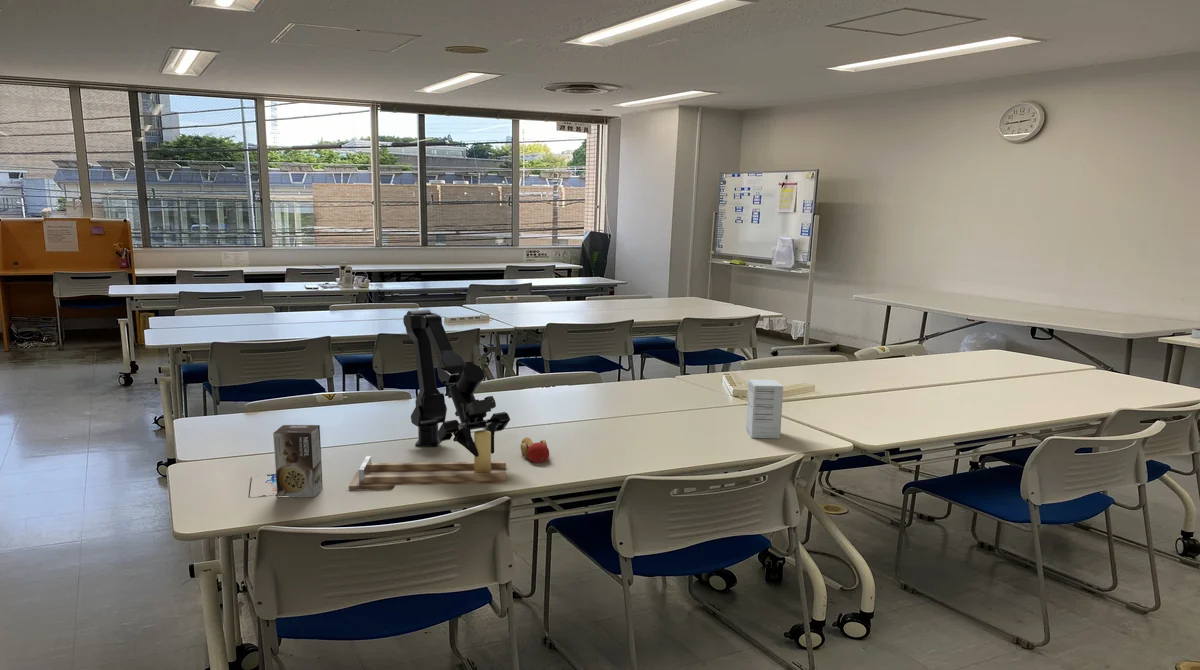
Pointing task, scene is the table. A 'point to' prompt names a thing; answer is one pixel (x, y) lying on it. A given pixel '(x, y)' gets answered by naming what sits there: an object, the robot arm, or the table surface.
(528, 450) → the kendama
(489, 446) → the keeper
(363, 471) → the stop
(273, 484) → the smartphone
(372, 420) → the table surface
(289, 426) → the coffee box
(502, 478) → the track
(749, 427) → the supplement box
